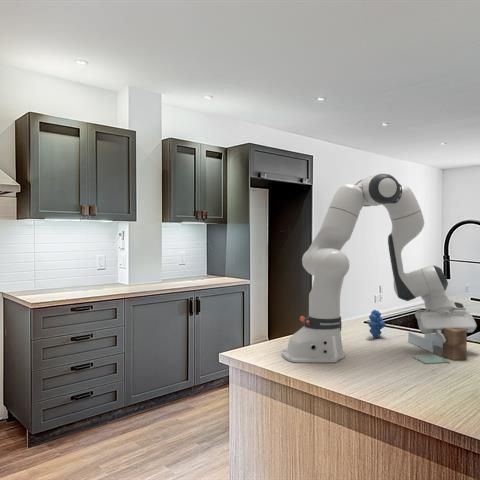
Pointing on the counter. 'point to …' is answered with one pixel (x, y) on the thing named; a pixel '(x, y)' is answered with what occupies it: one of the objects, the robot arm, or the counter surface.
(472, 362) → the counter surface
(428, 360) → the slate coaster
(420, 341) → the acrylic channel
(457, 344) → the walnut block
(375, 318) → the grapes
